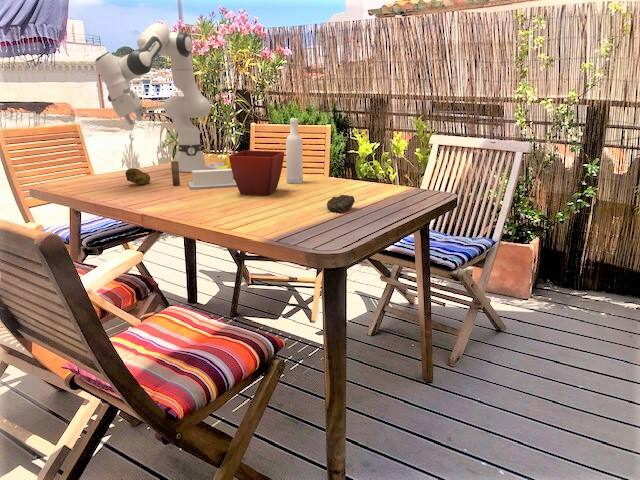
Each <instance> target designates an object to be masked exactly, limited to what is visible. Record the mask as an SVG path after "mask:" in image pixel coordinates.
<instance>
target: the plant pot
mask: <svg viewBox="0 0 640 480" xmlns="http://www.w3.org/2000/svg"><path fill="white" fill-rule="evenodd" d="M231 154H232V155H230V154H229V155H230V156H229V155H228V156H229V160H230V164H231V169H232V172H233V176H234V178H233V180H235V182H236V184H237V187H236V188H237V189H238V192H239V194H240V195H253V196H254V195H255V196H270V195H271V194H273V192H275V191H277V189H278V186H279V182H280V179H281V173H282V170H283V166H284V165H283V164H284V158H285V151H279V150H278V151H273V150H246V149H245V150H241V151H238V152H236V153H231Z"/></svg>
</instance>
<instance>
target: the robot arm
mask: <svg viewBox="0 0 640 480" xmlns="http://www.w3.org/2000/svg"><path fill="white" fill-rule="evenodd" d="M136 45H137V48H138V49H134V50H133V51H131V52H130V53H128V54H126V55H124V56H123V57H119V56H116V55H114V54H112V52H110V51H109V52H108V51H107V52H105V53H104V54H102V55H100V56H98V57H97V58H96V59H95V62H94V63H95V66H96V69H97V72H98V74H99V76H100V78H101V80H102V81H103V82H104V84H105V85H106V90H107V92H108V96H107V101H108V102H109V103H111V106H112V108H113V110H114V112H115V113H116V115H117V116H118V117H119V118H124V119H125V121H126V122H127V123H128V125H129V126H132V125H135V122H134V119H132V118H131V115H130V114H132V113H134V114H135V117H136V118H135V119H136V120H137V122H142V121H143V117H142V113H141V110H140V109H142V108H143V103H142V101H141V99H140V98H139V96H138V94H137V93H136V91H134V90H133V89H132V88H131V86H130V84H129V82H131V81H132V80H135V79H137V78H138V77H141V76H143V75H146V74H149V72H151V69H152V66H153V62H154V60H155V58H156V57H157V56H158V57H170V69H171V76H172V84H173V86H174V87H175V88H176V89H177V90H179V91H180V92H181V93H182V94H183V96H182V95H181V96H178V95H176V96H171V97H167V98H166V99H165V101H164V103H163V111H164V112H165V114H166V116H168V117H169V118H170V119H171V121H173V123H174V125H175V126H176V130H177V135H178V154H176V156H175V158H174V161H178V165H179V172H183V173H184V172H185V173H188V172H189V173H192V171H196V170H209V168H208V167H207V165H206V158H205V157H206V156H205V154H204V153H203V151H202V144H201V136H200V129H199V128H198V126H197V125H194V124H193V123H192V121H191V119H200V118H205V117H208V116H209V115H210V112H211V110H212V109H211V108H212V106H211V102H210V101H209V99H208V98H207V97H205V96H204V95H203V94H202V93H201V92H200V90H199V88H198V86H197V83H196V78H195V71H194V64H193V60H192V56H191V52H192V51H193V40H192V38H191V36H190V35H189V34H188V33H186V32H182V31H180V32H175V31H170V29H169V28H168V26H166V25H165V24H163V23H161V22H155V23H153V24H151V25H149V26H147V27H146V28H145V29H143V31H142V32H141V33H140V34H139V36H138V38H137V40H136ZM190 118H191V119H190Z"/></svg>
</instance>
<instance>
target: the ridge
mask: <svg viewBox="0 0 640 480" xmlns="http://www.w3.org/2000/svg"><path fill="white" fill-rule="evenodd" d="M191 177H192V178H191V179H192V181H187V182H186V185H187V187H188V188H189V189H190V191H191V190H205V189H207V190H208V189H222V188H223V189H225V188H227V189H228V188H238V187H237V184H236V182H235V179H234V178H233V172H232V169H216V170H209V169H208V170H196V171H192V172H191Z"/></svg>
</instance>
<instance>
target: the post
mask: <svg viewBox="0 0 640 480" xmlns="http://www.w3.org/2000/svg"><path fill="white" fill-rule="evenodd" d="M170 167H171V176H172V177H171V178H172V187H180V186H181V181H180V180H181V178H180V171H179V165H178V161H175V160H174V161H173V160H172V161H171V162H170Z"/></svg>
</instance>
